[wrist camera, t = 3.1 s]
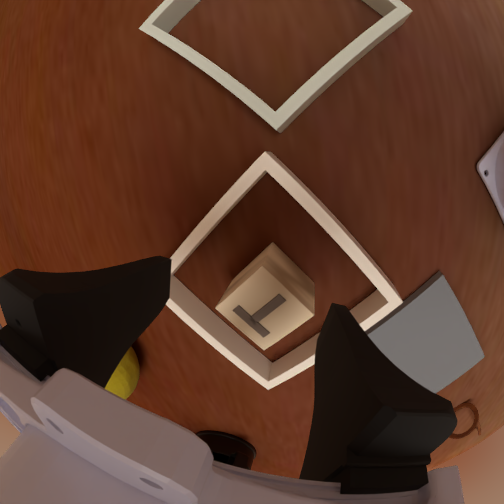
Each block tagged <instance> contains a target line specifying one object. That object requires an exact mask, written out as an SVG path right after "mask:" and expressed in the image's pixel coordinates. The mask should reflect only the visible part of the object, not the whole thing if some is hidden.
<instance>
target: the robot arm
mask: <svg viewBox="0 0 504 504" xmlns="http://www.w3.org/2000/svg"><path fill="white" fill-rule="evenodd" d="M477 171H478V173H479V174H480V176H481V178H482V180H483V182H484V183H485V185H486V187H487V189H488V191H489V193H490V195H491V197H492V199H493V201H494V203H495V205H496V207H497V209H498V212H499V214H500V216H501V218H502V221H503V223H504V131H503V133H502V134H501V135H500V136H499V138H498V139H497V140H496V141H495V143H494V144H493V145H492V146H491V148H490V149H489V150H488V151H487V152H486V154H485V155H484V156H483V157H482V158H481V159H480V161H479V162H478V163H477ZM484 171H486V175H484ZM171 263H172V259H169V258H166V257H162V256H155V257H150V258H146V259H142V260H138V261H134V262H130V263H126V264H122V265H118V266H113V267H109V268H104V269H99V270H92V271H85V272H69V273H49V272H36V271H29V270H22V269H15V270H13V271H11V272H9V273H7V274H5V275H4V276H2V277H0V305H1V308H2V311H3V314H4V317H5V320H6V323H7V325H6V326H4V327H3V328H2V326H1V324H0V411H1V412H2V413H3V414H4V416H5V417H6V418H7V419H8V420H9V421H10V422H11V423H12V425H13V426H14V427H15V428H16V429H17V430H18V431H19V432H20V433H21V434H20V435H19V436H18V437H17V438H16V440H15V441H14V442H13V443H12V444H11V446H10V447H9V448H8V449H7V450H6V452H5V453H4V454H3V455H2V457H1V458H0V504H464V498H463V492H462V486H461V480H460V475H459V470H458V466H451V467H445V468H438V469H434V470H432V471H429V472H427V467H426V465H428V464H430V462H431V457H430V453H431V452H433V451H434V450H435V449H436V448H437V447H439V446H440V445H441V444H442V443H443V442H444V441H445V440H446V439H447V438H448V437H449V436H450V435H451V434H452V432H453V431H454V429H455V427H456V425H457V418H456V415H455V412H454V409H453V406H452V403H451V401H449V400H447V399H445V398H443V397H441V396H439V395H437V394H435V393H433V392H431V391H430V390H428V389H427V388H425V387H423V386H422V385H420V384H419V383H417V382H416V381H414V380H413V379H412V378H410V377H409V376H408V375H407V374H405V373H404V372H403V371H402V370H400V369H399V368H398V367H397V366H396V365H395V364H393V363H392V362H391V361H390V360H389V359H388V358H387V357H386V356H385V355H384V354H383V353H382V352H381V351H380V350H379V348H378V347H377V346H376V345H375V344H374V343H373V341H372V340H371V339H370V338H369V336H368V335H367V334H366V333H365V331H364V330H363V329H362V327H361V326H360V325H359V323H358V322H357V321H356V319H355V318H354V316H353V315H352V314H351V312H350V311H349V310H348V309H347V307H346V306H343V305H339V304H335V303H332V304H331V307H330V309H329V312H328V314H327V317H326V319H325V322H324V324H323V327H322V329H321V331H320V334H319V336H318V339H317V344H316V351H315V398H314V411H313V418H312V424H311V430H310V436H309V441H308V446H307V450H306V454H305V459H304V463H303V467H302V470H301V474H300V477H299V479H295V478H288V477H282V476H276V475H271V474H265V473H261V472H256V471H251V470H247V469H243V468H239V467H235V466H231V465H228V464H224V463H221V462H217V461H214V460H213V459H214V457H213V455H212V453H211V450H210V448H209V446H208V445H207V443H205V442H204V441H203V440H202V439H200V438H199V437H198V436H197V435H195V434H194V433H193V432H192V431H190V430H188V429H186V428H184V427H182V426H180V425H178V424H176V423H174V422H172V421H170V420H168V419H166V418H164V417H161V416H159V415H157V414H154V413H152V412H150V411H148V410H145V409H143V408H141V407H139V406H137V405H135V404H133V403H131V402H129V401H127V400H125V399H123V398H121V397H119V396H117V395H115V394H113V393H112V392H110V391H108V390H106V389H105V387H106V385H107V383H108V381H109V379H110V378H111V376H112V374H113V373H114V371H115V369H116V368H117V366H118V364H119V363H120V361H121V360H122V358H123V357H124V355H125V354H126V352H127V351H128V349H129V348H130V347H131V345H132V344H133V343H134V342H135V341H136V340H137V338H138V337H139V336H140V335H141V334H142V333H143V332H144V331H145V329H146V328H147V327H148V326H149V325H150V324H151V323H152V321H153V320H154V319H155V318H156V317H157V316H158V315H159V313H160V312H161V310H162V309H163V307H164V306H165V304H166V303H167V301H168V299H169V298H170V280H171Z"/></svg>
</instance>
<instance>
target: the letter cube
mask: <svg viewBox="0 0 504 504" xmlns="http://www.w3.org/2000/svg"><path fill="white" fill-rule="evenodd" d="M314 296H315V283H314V282H313V281H312V280H311V279H310V278H309V277H308V276H307V275H306V274H305V273H304V272H303V271H302V270H301V269H300V268H299V267H298V266H297V265H296V264H295V263H294V262H293V261H292V260H291V259H290V258H289V257H288V256H287V255H286V254H285V253H284V252H283V251H282V250H280V249H279V248H278V247H277V246H276V245H275V244H274V243H273V242H272V243H271V244H270V245H269V246H268V247H267V248H266V249H265V250H263V251H262V252H261V253H260V254H259V255H258V256H257V257H256V258H255V259H254V260H253V261H252V262H251V263H250V264H249V265H247V266H246V267H245V268H244V269H243V270H242V271H241V272H240V273H239V274H238V275H237V276H236V277H235V278H234V279H233V280H232V282H231V283H230V285H229V286H228V288H227V290H226V291H225V293H224V294H223V296H222V298H221V299H220V301H219V303H218V304H217V306H216V307H215V308H216V309H217V310H218V311H219V312H220V313H221V314H222V315H223V316H225V317H226V318H227V319H228V320H229V321H230V322H231V323H233V324H234V325H235V326H236V327H237V328H238V329H239V330H241V331H242V332H243V333H244V334H245V335H246V336H248V337H249V338H250V339H251V340H252V341H253V342H255V343H256V344H257V345H258V346H259V347H261V348H262V349H263V350H265V349H267V348H268V347H270V346H271V345H273V344H274V343H276V342H277V341H279V340H280V339H282V338H283V337H284V336H286V335H287V334H289V333H290V332H292V331H293V330H294V329H296V328H297V327H299V326H300V325H302V324H303V323H304V322H306V321H307V320H308V319H310V318H311V317H313V316H314Z"/></svg>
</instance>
